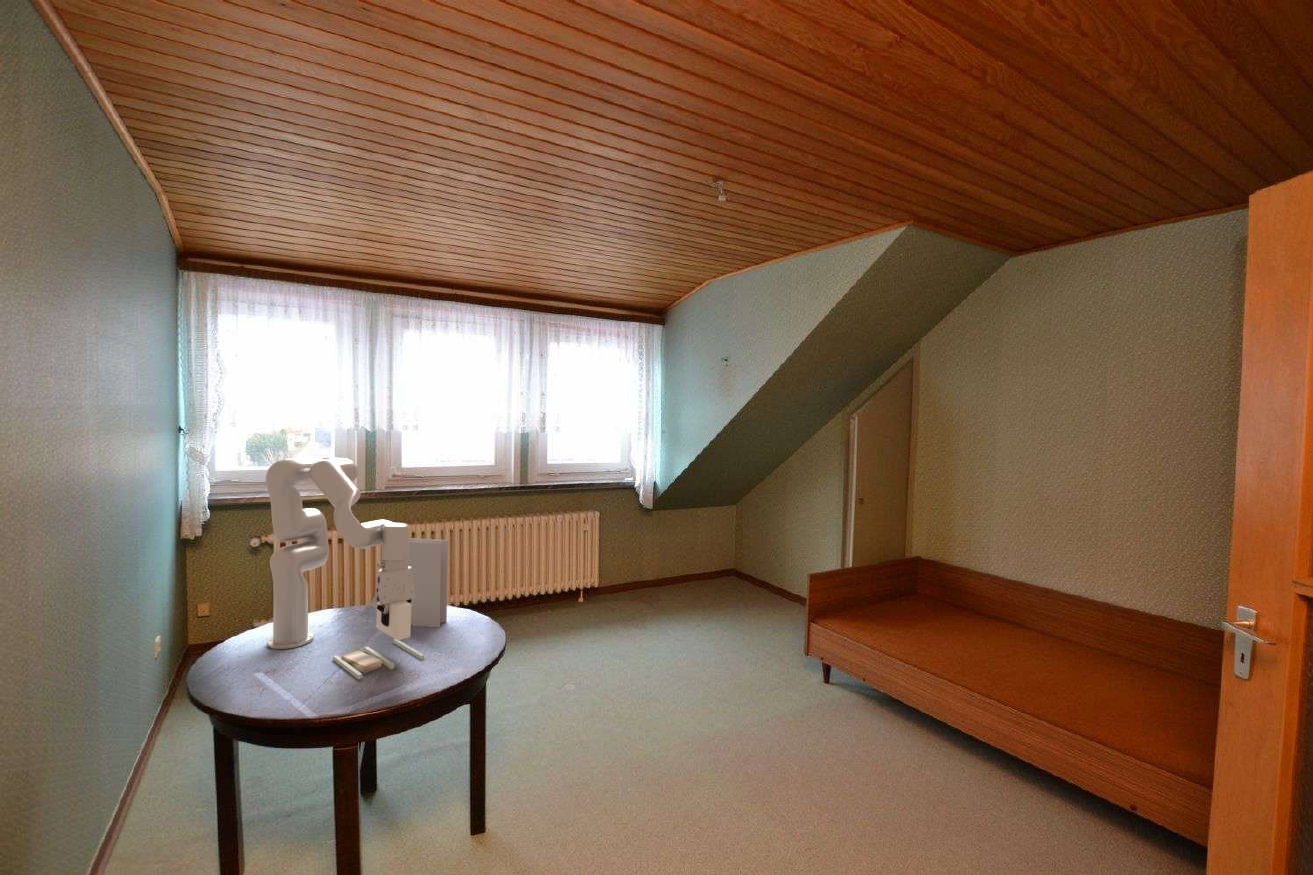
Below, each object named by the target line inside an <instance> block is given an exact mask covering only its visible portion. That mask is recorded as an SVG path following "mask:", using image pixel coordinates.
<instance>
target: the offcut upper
mask: <svg viewBox="0 0 1313 875" xmlns="http://www.w3.org/2000/svg"><path fill="white" fill-rule="evenodd" d="M341 659H343V660H344V661H345V662H347V663H348V664H349V665H351V666H352V667H353V668H355V669H356V670H357V671H359V672H360V673H364V674H366V673H369V672H371V671H372V672H373V671H375V670H377V669H380V668H382V665H383V664H382V660H380V659H377V658H375V657H373V656H371V655H369V654H368V653H366V652H365V651H364V652H363V651H361V650H355V651H351V652H349V653H346V654H343V655H341Z"/></svg>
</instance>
